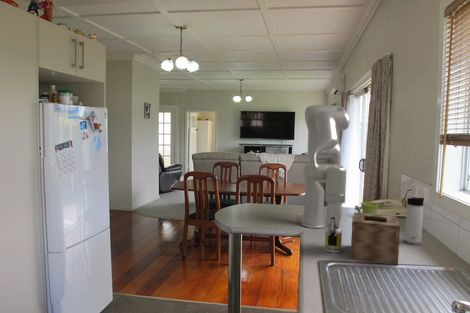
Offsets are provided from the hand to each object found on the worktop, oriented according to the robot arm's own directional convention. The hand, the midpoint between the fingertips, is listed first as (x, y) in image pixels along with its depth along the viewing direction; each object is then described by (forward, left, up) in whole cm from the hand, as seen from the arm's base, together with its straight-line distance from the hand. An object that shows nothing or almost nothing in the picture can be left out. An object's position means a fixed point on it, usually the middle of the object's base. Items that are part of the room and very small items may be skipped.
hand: (333, 242), depth 138 cm
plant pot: (+13, +61, -3) cm, 62 cm away
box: (+15, +1, -3) cm, 15 cm away
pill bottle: (0, 0, -3) cm, 3 cm away
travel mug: (+31, +25, -3) cm, 40 cm away
